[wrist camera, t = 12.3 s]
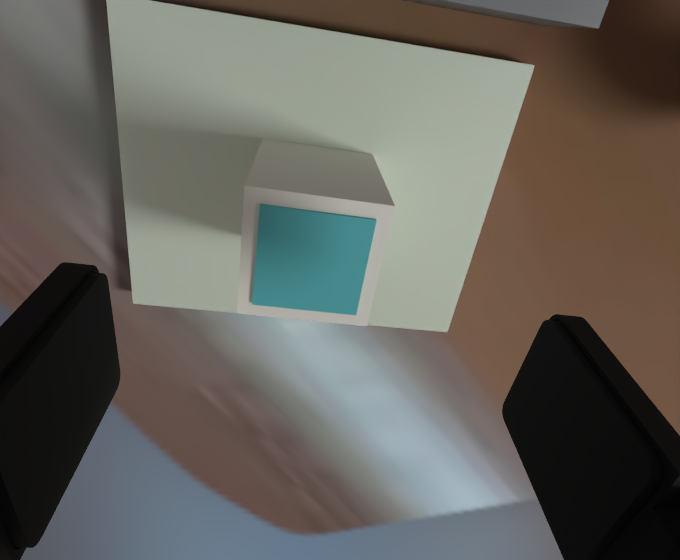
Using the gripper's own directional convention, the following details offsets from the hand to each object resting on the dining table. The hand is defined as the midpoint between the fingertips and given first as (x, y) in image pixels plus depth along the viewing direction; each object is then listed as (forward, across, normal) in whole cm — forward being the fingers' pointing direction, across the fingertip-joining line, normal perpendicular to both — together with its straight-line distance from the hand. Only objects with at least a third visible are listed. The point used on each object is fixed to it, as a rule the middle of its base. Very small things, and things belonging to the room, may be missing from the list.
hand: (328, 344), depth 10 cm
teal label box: (+11, 0, +1) cm, 11 cm away
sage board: (+12, 0, +1) cm, 12 cm away
